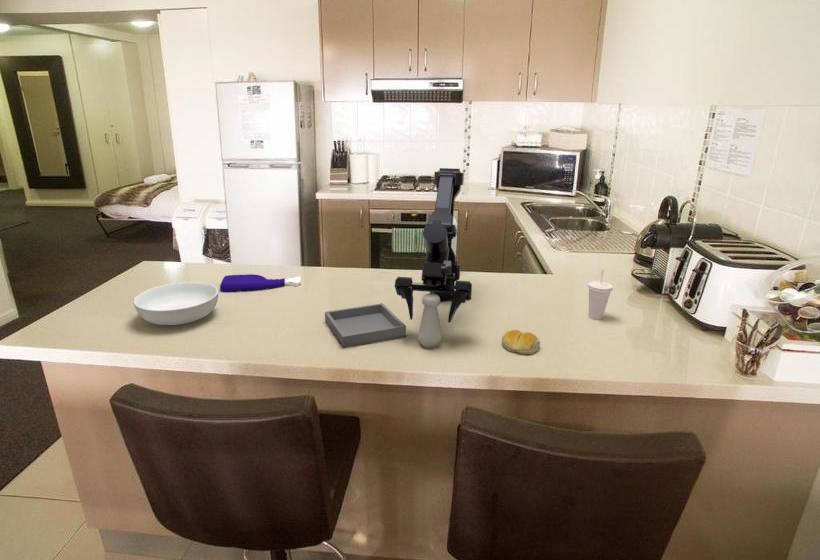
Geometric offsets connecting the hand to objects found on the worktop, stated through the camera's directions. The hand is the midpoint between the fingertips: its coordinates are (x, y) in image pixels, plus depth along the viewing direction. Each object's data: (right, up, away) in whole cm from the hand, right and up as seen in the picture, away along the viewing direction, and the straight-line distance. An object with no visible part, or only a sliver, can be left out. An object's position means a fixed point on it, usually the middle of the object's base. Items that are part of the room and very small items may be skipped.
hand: (430, 320), depth 118 cm
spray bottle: (-53, +7, +42) cm, 68 cm away
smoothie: (+48, -1, +21) cm, 52 cm away
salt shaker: (0, -6, +3) cm, 7 cm away
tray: (-17, -3, +11) cm, 20 cm away
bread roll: (+22, -7, +3) cm, 24 cm away
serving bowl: (-68, -1, +17) cm, 70 cm away
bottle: (+7, +12, +58) cm, 59 cm away
